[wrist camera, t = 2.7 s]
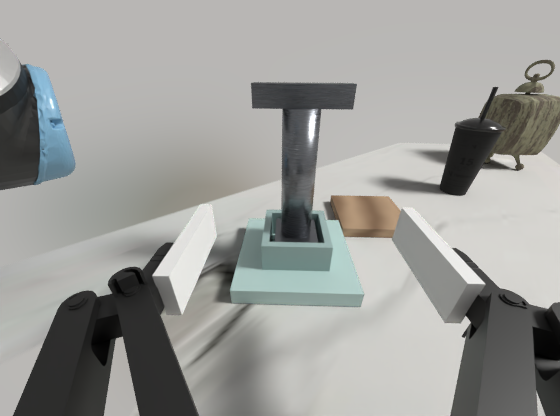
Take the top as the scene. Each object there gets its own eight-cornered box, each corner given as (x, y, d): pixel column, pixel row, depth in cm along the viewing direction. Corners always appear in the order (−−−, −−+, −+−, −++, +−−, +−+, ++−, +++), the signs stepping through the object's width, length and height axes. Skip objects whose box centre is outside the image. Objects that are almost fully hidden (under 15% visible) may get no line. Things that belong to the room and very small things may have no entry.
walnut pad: (341, 236, 36) (343, 228, 35) (330, 202, 45) (331, 195, 44) (413, 238, 35) (416, 230, 35) (386, 203, 45) (388, 196, 44)
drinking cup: (428, 181, 54) (462, 85, 44) (466, 185, 52) (511, 86, 42) (436, 195, 48) (478, 87, 38) (479, 201, 46) (536, 88, 36)
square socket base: (231, 303, 25) (226, 266, 22) (249, 228, 37) (247, 198, 34) (360, 306, 25) (371, 269, 22) (336, 230, 37) (341, 200, 34)
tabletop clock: (531, 172, 60) (598, 58, 47) (495, 172, 60) (552, 57, 47) (489, 155, 72) (534, 61, 60) (460, 155, 73) (498, 61, 60)
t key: (258, 261, 28) (248, 83, 18) (262, 236, 32) (255, 81, 23) (332, 262, 28) (361, 84, 18) (326, 237, 32) (347, 82, 23)
